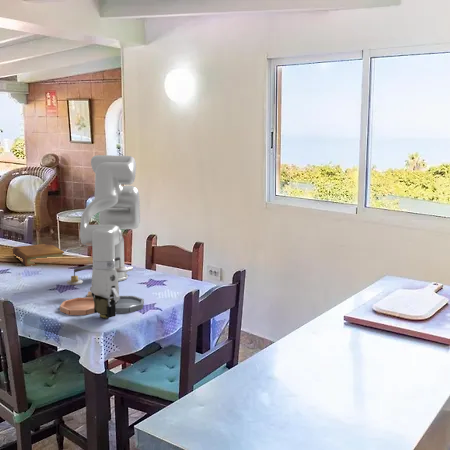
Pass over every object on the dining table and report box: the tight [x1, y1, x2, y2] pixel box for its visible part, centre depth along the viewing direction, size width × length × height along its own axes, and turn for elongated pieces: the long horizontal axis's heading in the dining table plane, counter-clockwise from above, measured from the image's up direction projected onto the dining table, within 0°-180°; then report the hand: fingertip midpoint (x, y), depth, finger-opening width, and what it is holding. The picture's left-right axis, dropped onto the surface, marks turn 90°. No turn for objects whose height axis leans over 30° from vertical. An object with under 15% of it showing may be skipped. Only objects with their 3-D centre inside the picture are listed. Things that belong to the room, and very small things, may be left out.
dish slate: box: [115, 295, 145, 314], centre depth 199 cm, size 15×15×2 cm
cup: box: [93, 295, 113, 320], centre depth 186 cm, size 8×7×8 cm
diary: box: [12, 242, 65, 267], centre depth 269 cm, size 23×19×6 cm
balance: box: [66, 257, 129, 298], centre depth 208 cm, size 23×8×16 cm, turn 99°
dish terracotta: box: [59, 297, 96, 316], centre depth 196 cm, size 15×15×2 cm
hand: (104, 313), depth 187 cm, fingers closed on cup, 6 cm apart
